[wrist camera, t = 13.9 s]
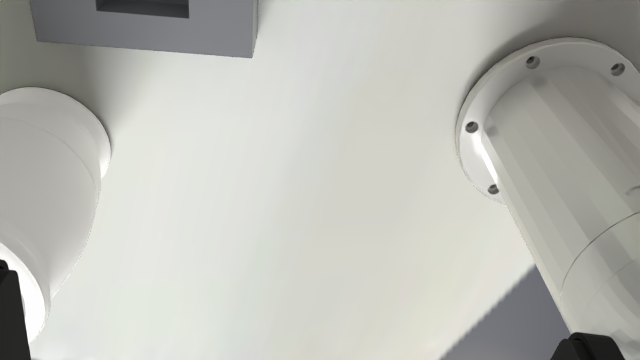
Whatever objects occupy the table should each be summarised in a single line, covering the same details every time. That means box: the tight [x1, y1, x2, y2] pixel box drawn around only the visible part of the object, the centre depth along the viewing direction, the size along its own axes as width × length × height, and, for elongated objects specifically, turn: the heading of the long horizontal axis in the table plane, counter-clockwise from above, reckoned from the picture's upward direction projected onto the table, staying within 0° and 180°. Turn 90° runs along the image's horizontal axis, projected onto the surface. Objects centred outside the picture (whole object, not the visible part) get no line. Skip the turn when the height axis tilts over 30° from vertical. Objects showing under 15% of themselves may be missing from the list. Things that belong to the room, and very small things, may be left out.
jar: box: [0, 87, 111, 345], centre depth 33 cm, size 11×10×15 cm
